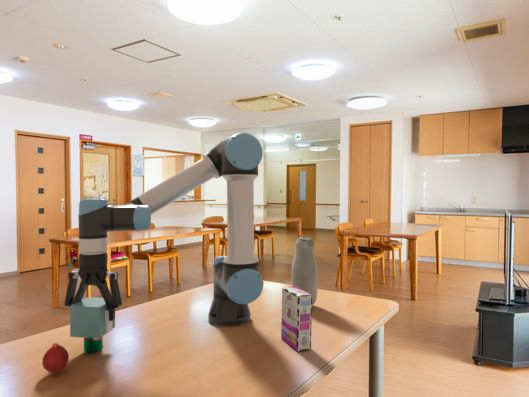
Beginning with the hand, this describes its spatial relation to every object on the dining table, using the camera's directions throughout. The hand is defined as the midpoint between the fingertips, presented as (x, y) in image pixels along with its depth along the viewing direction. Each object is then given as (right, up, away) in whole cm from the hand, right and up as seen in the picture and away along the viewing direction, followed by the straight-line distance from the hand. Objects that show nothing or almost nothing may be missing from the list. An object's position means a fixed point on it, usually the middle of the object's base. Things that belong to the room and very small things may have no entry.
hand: (93, 330), depth 110 cm
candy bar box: (+59, -7, +7) cm, 60 cm away
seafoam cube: (0, 0, 0) cm, 0 cm away
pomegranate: (-3, -6, -14) cm, 15 cm away
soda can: (0, -6, 0) cm, 6 cm away
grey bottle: (+65, -6, +44) cm, 79 cm away
